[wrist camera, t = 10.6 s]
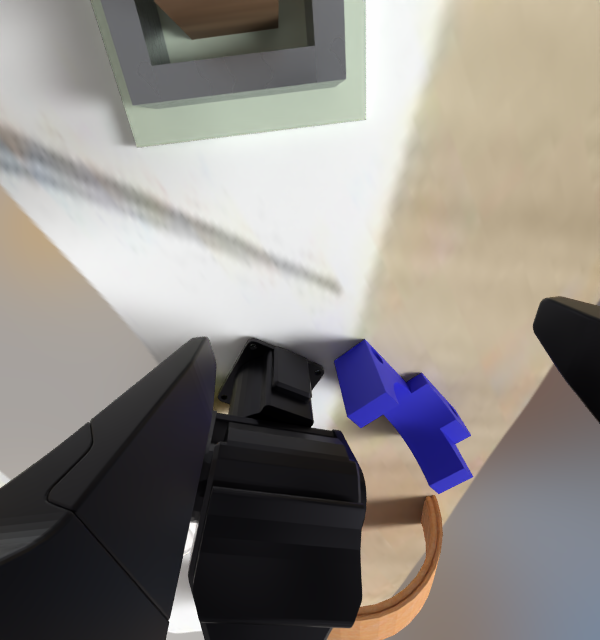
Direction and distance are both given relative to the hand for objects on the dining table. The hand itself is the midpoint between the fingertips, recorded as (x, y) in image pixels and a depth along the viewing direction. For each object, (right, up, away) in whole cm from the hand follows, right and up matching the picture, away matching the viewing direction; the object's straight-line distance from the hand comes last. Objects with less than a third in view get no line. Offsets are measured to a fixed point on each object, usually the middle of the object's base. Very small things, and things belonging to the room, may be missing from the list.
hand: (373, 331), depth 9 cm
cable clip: (+6, -5, +19) cm, 21 cm away
